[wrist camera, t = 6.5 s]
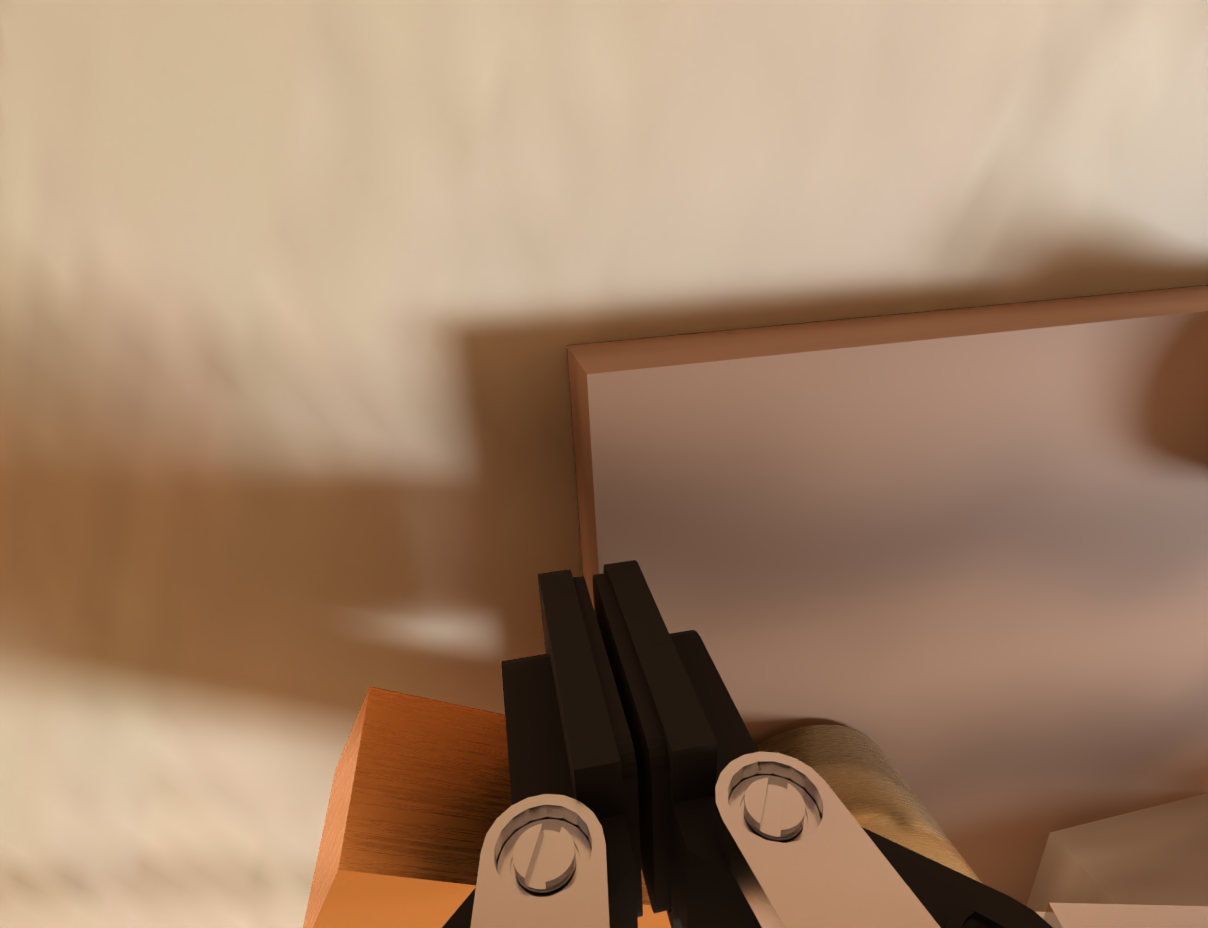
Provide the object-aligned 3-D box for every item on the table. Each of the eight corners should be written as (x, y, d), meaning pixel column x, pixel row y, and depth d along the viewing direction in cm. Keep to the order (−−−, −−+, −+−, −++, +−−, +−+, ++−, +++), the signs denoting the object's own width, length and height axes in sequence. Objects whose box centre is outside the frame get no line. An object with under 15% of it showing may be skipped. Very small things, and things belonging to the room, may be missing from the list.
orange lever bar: (923, 746, 15) (1058, 906, 11) (822, 884, 16) (917, 1066, 12) (397, 615, 11) (371, 804, 7) (315, 813, 12) (262, 1051, 9)
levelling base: (566, 345, 12) (879, 793, 3) (1361, 270, 15) (2649, 390, 6) (613, 1008, 20) (738, 1657, 11) (1124, 871, 23) (1538, 1295, 14)
